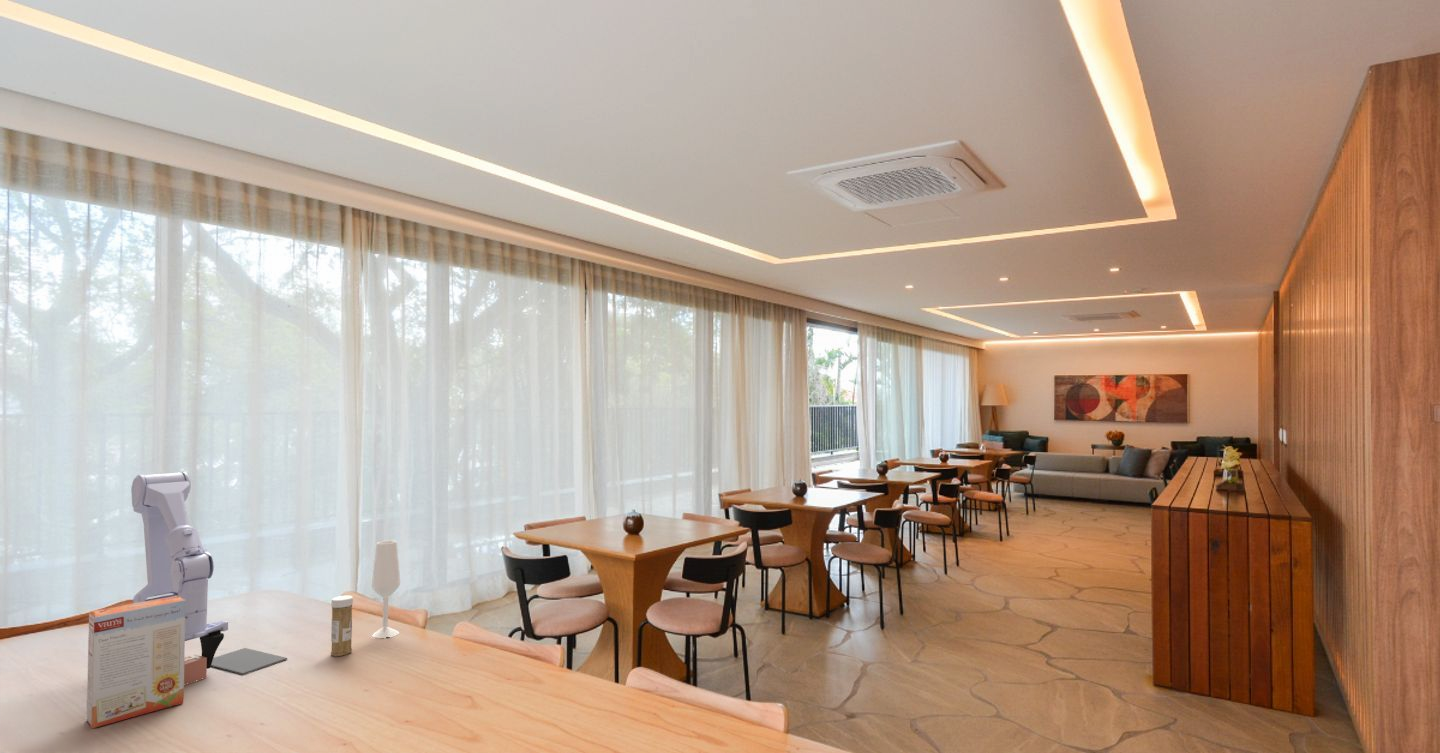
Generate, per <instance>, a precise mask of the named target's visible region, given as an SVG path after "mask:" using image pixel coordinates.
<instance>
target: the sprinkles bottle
mask: <svg viewBox="0 0 1440 753" xmlns="http://www.w3.org/2000/svg"><path fill="white" fill-rule="evenodd" d="M353 604H354V597H353V596H352V595H340V596H339V595H338V596H335V597H333V598H331V613H332V614H331V638H330V640H331V652H330V655H331V656H334V657H343V655H344V656H345V655H349V654H350V653H352V651H353V649H352V648H353V647H352V638H353Z"/></svg>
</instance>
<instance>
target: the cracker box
mask: <svg viewBox="0 0 1440 753" xmlns="http://www.w3.org/2000/svg"><path fill="white" fill-rule="evenodd" d="M87 640H88V642H87V643H88V644H87V645H88V646H87V689H86V690H87V691H86V692H87V695H86V721H87V722H88V724H89V725H90V727H91V729H95V728H99V727H103V726H107V725H109V724H113V723H117V722H120V721H123V720H124V721H125V720H126V719H130V718H134V717H138V716H142V715H145V714H148V713H152V712H155V711H160V710H162V709H166V708H171V707H174V706H177V705H181V704H183V703H184V700H185V698H184V696H185V695H184V693H185V685H184V657H185V642H186V641H185V600H184V599H182V598H181V597H179V596H173V597H168V598H162V599H157V600H151V601H145V602H140V603H134V604H133V603H129V604H124V605H119V606H113V607H108V608H102V609H97V610H92V611H89V613H88V639H87Z"/></svg>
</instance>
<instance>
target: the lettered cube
mask: <svg viewBox="0 0 1440 753" xmlns="http://www.w3.org/2000/svg"><path fill="white" fill-rule="evenodd" d="M184 657H185V658H184V684H187V683H190V684H192V683H191V682H193V683H195V682H194V681H196V680H199V681H201V680H200V679H202V678H205V677H206V678H207V670H208V669H207V658H206V657H203V656H202V655H197V654H192V655H189V656H184ZM206 678H205V679H206ZM202 680H203V679H202ZM196 682H197V681H196ZM187 685H188V684H187Z"/></svg>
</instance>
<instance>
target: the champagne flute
mask: <svg viewBox="0 0 1440 753" xmlns="http://www.w3.org/2000/svg"><path fill="white" fill-rule="evenodd" d="M373 563H374V564H373V571H372V581H371V588H372V589H373V591H374V592H375V593H376V594H377V595H378V596H380V597H381V598H382V600H383V601H382V602H383V603H382V604H383V605H382V627H381V628H379V629H378V630H377V631H375V632H374V633H372V634H373V635H372V634H371V635H372V636H373V637H378V638H384V639H387V638H386V637H390V638H393V637H396V636H398V635H399V634H400V632H399V631H398V630H396V629H395V628H391V627H389V597H390V596H392V595H393V594H394V593H395V592H396V591H397V590H398V588H399V587H400V585H401V577H400V576H401V575H400V564H399V554H398V542H397V540H392V539H391V540H381V541H378V542H376V547H375V555H374V562H373Z"/></svg>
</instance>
